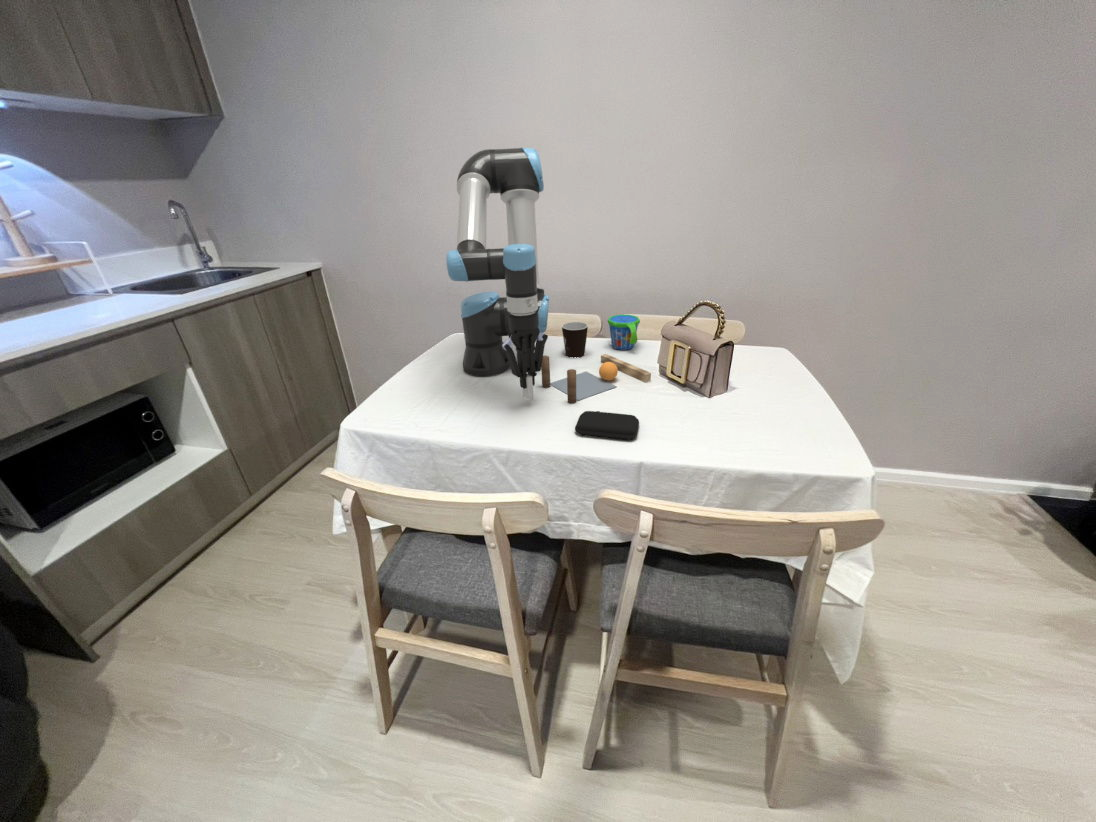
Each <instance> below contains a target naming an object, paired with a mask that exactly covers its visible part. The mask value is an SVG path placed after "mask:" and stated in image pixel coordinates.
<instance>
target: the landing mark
mask: <svg viewBox="0 0 1096 822" xmlns="http://www.w3.org/2000/svg"><path fill="white" fill-rule="evenodd" d="M550 386H552V387H554V388H555V389H557V390H558V391H561V392H562V393H564V394H566V395H567V377H564V378H562V379H558V380H555V381H552V382H550ZM615 388H617V385H615V384H613V383H611V382H609V381H607V380H604V379H602V378H601V377H600V376H599V377H598V376H596V375H594V374H592V373H590V372H589V371H583V372H580V373H576V402H577V401H578V402H579V401H581V400H585V399H587V398H589V397H593V396H596V395H598V394H601V393H605V392H607V391H610V390H612V389H615Z"/></svg>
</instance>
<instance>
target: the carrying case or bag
mask: <svg viewBox="0 0 1096 822" xmlns="http://www.w3.org/2000/svg"><path fill="white" fill-rule="evenodd" d="M639 425H640V420H639V418H637V416H635V415H633V414H626V413H625V414H624V413H617V412H605V411H599V410H598V411H594V410H593V411H592V410H585V411H584V412H583V413H581V414H580V415H579V417H578V419H577V421H576V424H575V426H574V431H575V432H576V434H577V435H579V436H585V437H590V436H591V437H592V438H601V439H611V440H621V441H633V440H634V439H635V438H636V437H638V432H639Z"/></svg>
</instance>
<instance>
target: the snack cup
mask: <svg viewBox="0 0 1096 822" xmlns="http://www.w3.org/2000/svg"><path fill="white" fill-rule="evenodd" d="M607 323H608V325H609V335H610V342H611V346H612V348H613V349H616V350H621V351H627V350H630V349H632V348H633V347H634V346H635V344H637V342H638V334H637V333H638V327H639V324H641V319H640V318H639V317H638V316H636V315H633V314H623V313H622V314H615V315H614V314H613V315H612V316H611V315H610V316H609V317H608V319H607Z"/></svg>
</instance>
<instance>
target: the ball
mask: <svg viewBox="0 0 1096 822" xmlns="http://www.w3.org/2000/svg"><path fill="white" fill-rule="evenodd" d="M618 373H619V370H618V369H617V366H616V365H615V364H614V363H612V362H605V363H602V364H601V365H600V366H599V368H598V374H599V377H600V378H601V379H603V380H605V381H607V382H609V381H613V380H614V379H615V378H617V377H618Z"/></svg>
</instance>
